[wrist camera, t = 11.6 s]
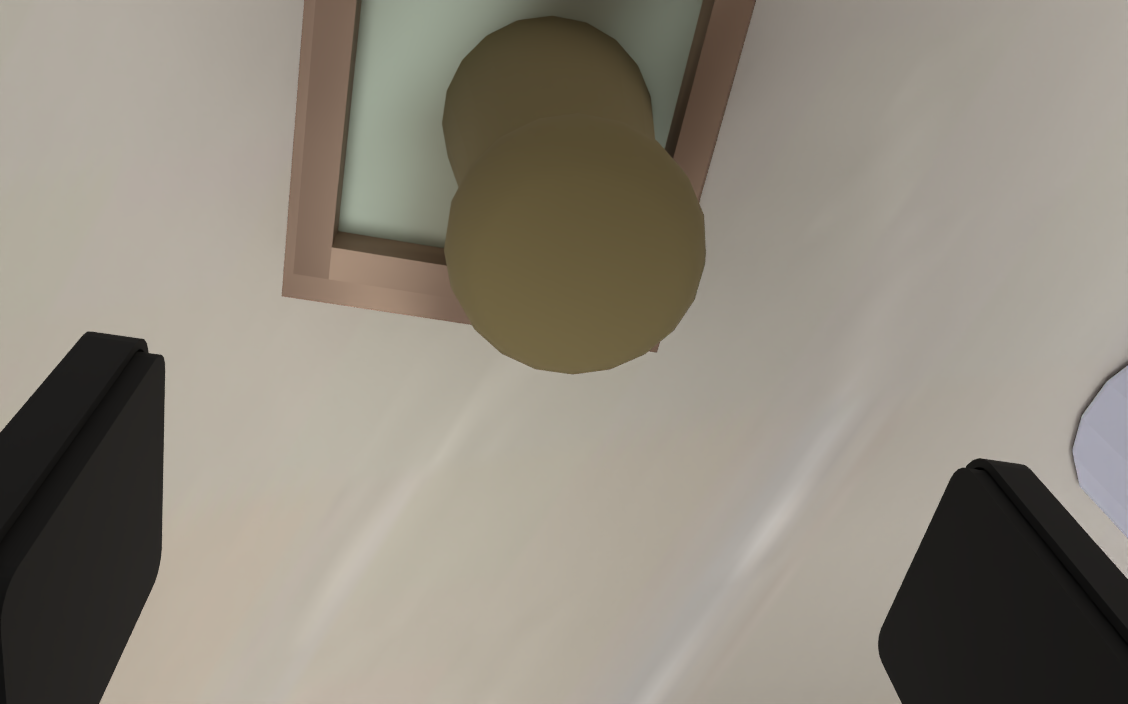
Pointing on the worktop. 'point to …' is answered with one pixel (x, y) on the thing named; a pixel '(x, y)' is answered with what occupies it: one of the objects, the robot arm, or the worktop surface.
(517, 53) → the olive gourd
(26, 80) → the worktop surface
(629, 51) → the brown wooden flat frame
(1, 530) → the robot arm
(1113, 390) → the soap bottle
